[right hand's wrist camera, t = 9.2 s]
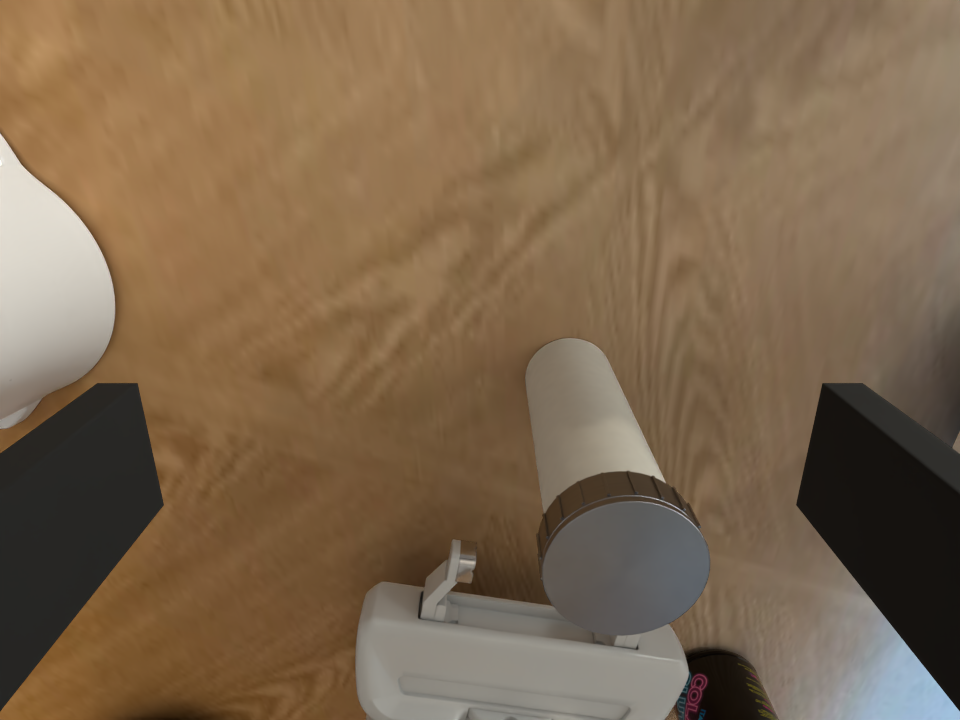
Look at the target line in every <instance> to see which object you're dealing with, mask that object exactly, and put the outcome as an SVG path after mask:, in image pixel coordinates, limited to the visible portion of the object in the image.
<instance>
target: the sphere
mask: <svg viewBox="0 0 960 720" xmlns="http://www.w3.org/2000/svg"><path fill="white" fill-rule="evenodd" d="M952 448H953V449H954V450H955V451H957V452H958V453H959V454H960V432H959V434H958V436H957V438H956V440H955V443H954V445H953V447H952Z"/></svg>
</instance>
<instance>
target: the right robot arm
mask: <svg viewBox="0 0 960 720" xmlns="http://www.w3.org/2000/svg"><path fill="white" fill-rule="evenodd" d="M163 505H164V504H163V499H162V494H161V490H160V485H159V481H158V476H157V471H156V467H155V462H154V457H153V453H152V448H151V444H150V439H149V434H148V430H147V425H146V420H145V416H144V411H143V407H142V402H141V397H140V393H139V388H138V383H97V384H96V385H94V386H93V387H92V388H90V389H89V390H88V391H86V392H85V393H83V394H82V395H81V396H79V397H78V398H77V399H75V400H74V401H72V402H71V403H70V404H68V405H67V406H65V407H64V408H63V409H61V410H60V411H59V412H57V413H56V414H54V415H53V416H52V417H50V418H49V419H48V420H46V421H45V422H43V423H42V424H41V425H39V426H38V427H36V428H35V429H34V430H32V431H31V432H30V433H28V434H27V435H25V436H24V437H23V438H21V439H20V440H19V441H17V442H16V443H14V444H13V445H12V446H10V447H9V448H7V449H6V450H5V451H3V452H2V453H1V454H0V711H1V710H2V708H3V707H4V706H5V705H6V703H7V702H8V701H9V699H10V698H11V697H12V696H13V694H14V693H15V692H16V691H17V689H18V688H19V687H20V686H21V684H22V683H23V682H24V681H25V679H26V678H27V677H28V676H29V674H30V673H31V672H32V670H33V669H34V668H35V667H36V665H37V664H38V663H39V662H40V660H41V659H42V658H43V657H44V655H45V654H46V653H47V652H48V650H49V649H50V648H51V647H52V645H53V644H54V643H55V641H56V640H57V639H58V638H59V636H60V635H61V634H62V633H63V631H64V630H65V629H66V628H67V626H68V625H69V624H70V623H71V621H72V620H73V619H74V618H75V616H76V615H77V614H78V612H79V611H80V610H81V609H82V607H83V606H84V605H85V604H86V602H87V601H88V600H89V599H90V597H91V596H92V595H93V594H94V592H95V591H96V590H97V589H98V587H99V586H100V585H101V583H102V582H103V581H104V580H105V578H106V577H107V576H108V575H109V573H110V572H111V571H112V570H113V568H114V567H115V566H116V565H117V563H118V562H119V561H120V560H121V558H122V557H123V556H124V554H125V553H126V552H127V551H128V549H129V548H130V547H131V546H132V544H133V543H134V542H135V541H136V539H137V538H138V537H139V536H140V534H141V533H142V532H143V531H144V529H145V528H146V527H147V526H148V524H149V523H150V522H151V520H152V519H153V518H154V517H155V515H156V514H157V513H158V512H159V510H160V509H161V508H162V507H163ZM796 505H797V507H798V508H799V509H800V510H801V512H802V513H803V514H804V515H805V517H806V518H807V519H808V520H809V522H810V523H811V524H812V526H813V527H814V528H815V529H816V531H817V532H818V533H819V534H820V536H821V537H822V538H823V539H824V541H825V542H826V543H827V544H828V546H829V547H830V548H831V549H832V551H833V552H834V553H835V554H836V556H837V557H838V558H839V560H840V561H841V562H842V563H843V565H844V566H845V567H846V568H847V570H848V571H849V572H850V573H851V575H852V576H853V577H854V578H855V580H856V581H857V582H858V583H859V585H860V586H861V587H862V589H863V590H864V591H865V592H866V594H867V595H868V596H869V597H870V599H871V600H872V601H873V602H874V604H875V605H876V606H877V607H878V609H879V610H880V611H881V612H882V614H883V615H884V616H885V618H886V619H887V620H888V621H889V623H890V624H891V625H892V626H893V628H894V629H895V630H896V631H897V633H898V634H899V635H900V636H901V638H902V639H903V640H904V641H905V643H906V644H907V645H908V647H909V648H910V649H911V650H912V652H913V653H914V654H915V655H916V657H917V658H918V659H919V660H920V662H921V663H922V664H923V665H924V667H925V668H926V669H927V670H928V672H929V673H930V674H931V676H932V677H933V678H934V679H935V681H936V682H937V683H938V684H939V686H940V687H941V688H942V689H943V691H944V692H945V693H946V694H947V696H948V697H949V698H950V699H951V701H952V702H953V703H954V705H955V706H956V707H957V708H958V710H959V711H960V454H959V453H958V452H957V451H955V450H954V449H953V448H951V447H950V446H948V445H947V444H946V443H944V442H943V441H941V440H940V439H939V438H937V437H936V436H935V435H933V434H932V433H930V432H929V431H928V430H926V429H925V428H924V427H922V426H921V425H919V424H918V423H917V422H915V421H914V420H912V419H911V418H910V417H908V416H907V415H906V414H904V413H903V412H901V411H900V410H899V409H897V408H896V407H895V406H893V405H892V404H890V403H889V402H888V401H886V400H885V399H883V398H882V397H881V396H879V395H878V394H877V393H875V392H874V391H872V390H871V389H870V388H868V387H867V386H866V385H864V384H863V383H822V388H821V393H820V397H819V402H818V407H817V411H816V416H815V420H814V425H813V430H812V434H811V439H810V444H809V448H808V453H807V457H806V462H805V467H804V471H803V476H802V481H801V485H800V490H799V494H798V499H797V504H796Z"/></svg>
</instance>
